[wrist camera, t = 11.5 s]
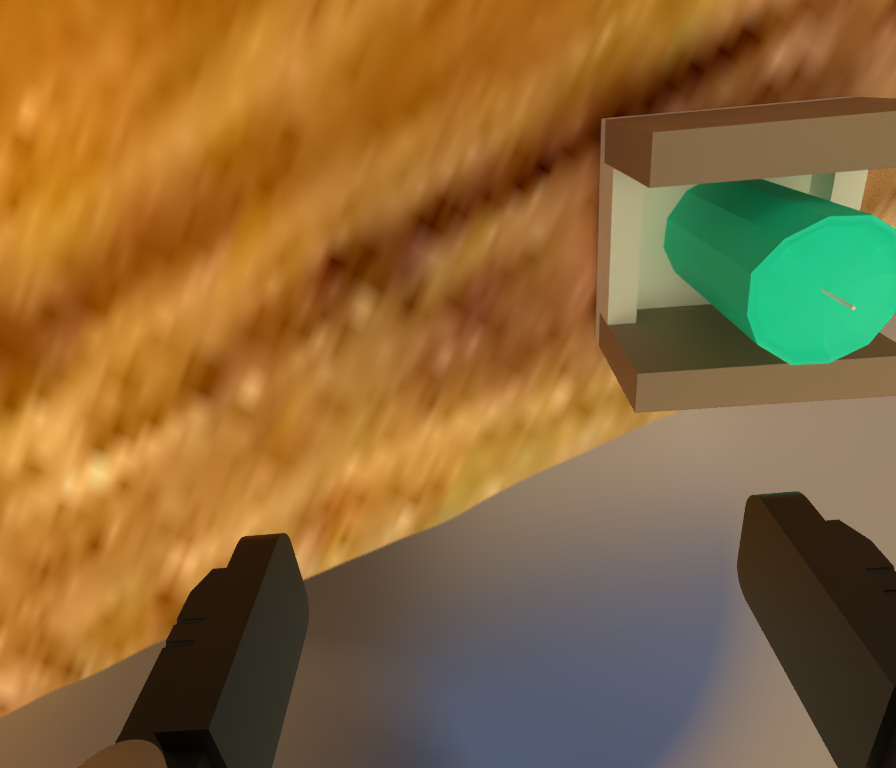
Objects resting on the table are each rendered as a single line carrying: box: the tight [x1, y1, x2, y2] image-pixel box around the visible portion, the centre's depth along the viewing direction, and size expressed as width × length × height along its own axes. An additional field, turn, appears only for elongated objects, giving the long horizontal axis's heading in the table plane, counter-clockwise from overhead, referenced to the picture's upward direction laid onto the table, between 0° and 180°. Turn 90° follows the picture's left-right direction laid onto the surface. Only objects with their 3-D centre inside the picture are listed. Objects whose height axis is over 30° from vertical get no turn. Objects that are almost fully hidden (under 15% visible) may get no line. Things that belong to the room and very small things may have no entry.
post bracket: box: [595, 97, 896, 413], centre depth 29 cm, size 12×12×9 cm
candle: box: [663, 179, 896, 365], centre depth 27 cm, size 6×6×12 cm
